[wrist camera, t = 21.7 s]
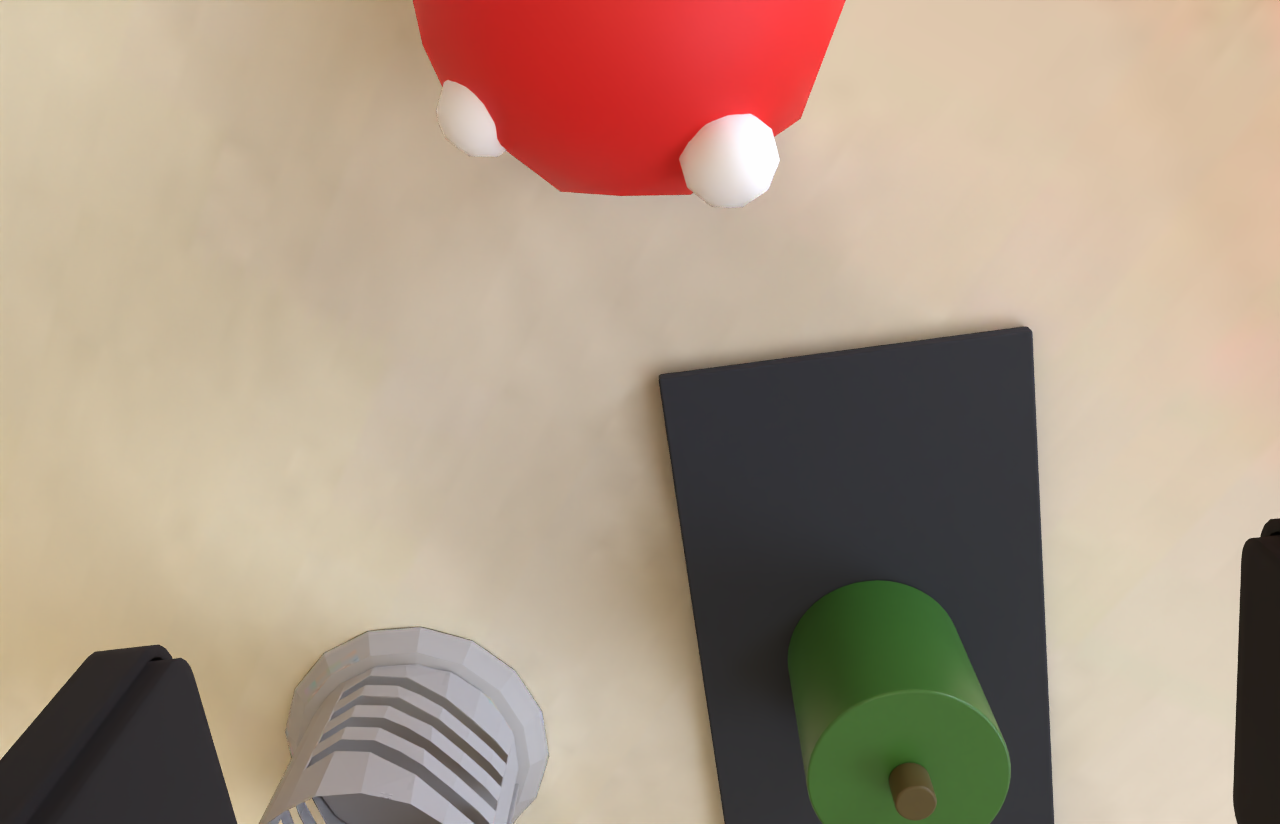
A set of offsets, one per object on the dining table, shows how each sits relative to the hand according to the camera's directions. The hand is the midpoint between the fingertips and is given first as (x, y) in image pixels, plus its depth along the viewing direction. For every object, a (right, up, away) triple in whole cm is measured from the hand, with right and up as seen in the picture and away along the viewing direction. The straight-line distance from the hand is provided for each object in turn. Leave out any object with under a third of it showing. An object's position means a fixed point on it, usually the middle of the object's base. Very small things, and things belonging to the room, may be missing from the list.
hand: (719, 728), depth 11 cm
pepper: (+7, -6, +32) cm, 33 cm away
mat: (+7, -5, +32) cm, 33 cm away
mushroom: (-1, +15, +25) cm, 30 cm away
